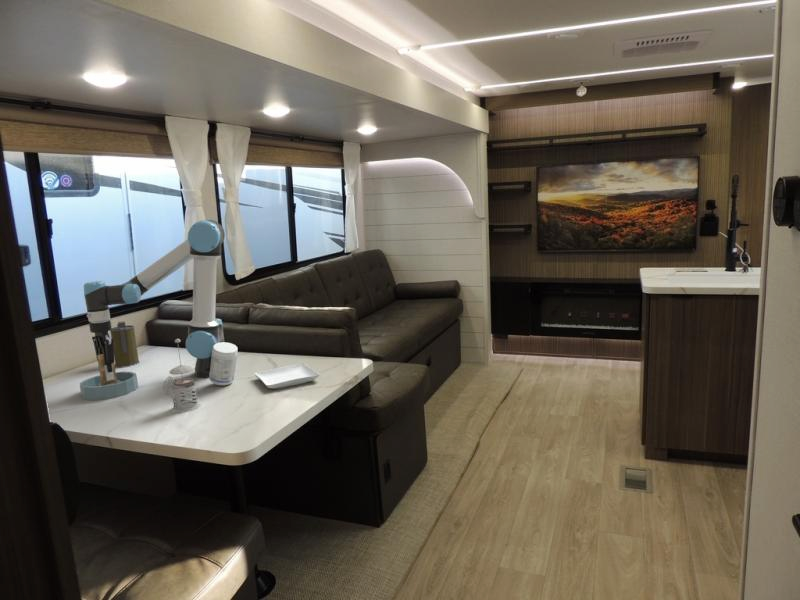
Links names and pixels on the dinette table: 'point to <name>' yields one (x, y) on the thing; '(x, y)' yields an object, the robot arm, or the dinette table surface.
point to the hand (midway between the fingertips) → (108, 379)
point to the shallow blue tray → (108, 386)
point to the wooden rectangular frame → (102, 371)
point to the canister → (124, 345)
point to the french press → (187, 385)
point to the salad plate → (287, 376)
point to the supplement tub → (223, 363)
